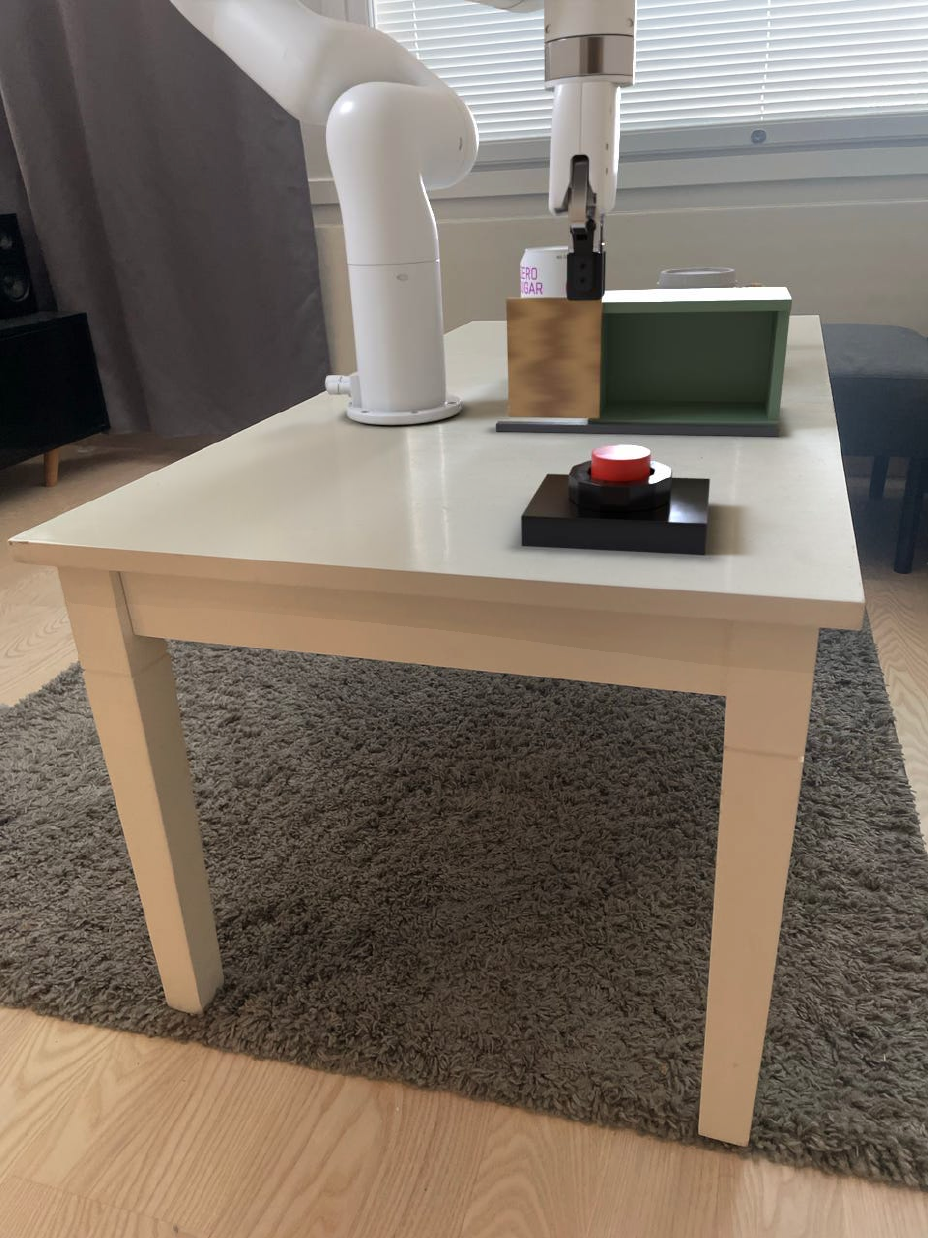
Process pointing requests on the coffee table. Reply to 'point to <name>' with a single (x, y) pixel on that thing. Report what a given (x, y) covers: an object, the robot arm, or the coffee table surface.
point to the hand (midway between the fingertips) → (585, 297)
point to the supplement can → (544, 272)
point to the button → (620, 463)
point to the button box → (619, 513)
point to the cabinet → (688, 364)
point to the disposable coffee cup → (697, 278)
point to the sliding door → (554, 356)
